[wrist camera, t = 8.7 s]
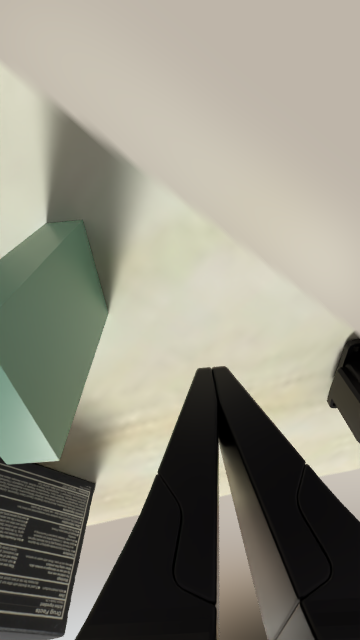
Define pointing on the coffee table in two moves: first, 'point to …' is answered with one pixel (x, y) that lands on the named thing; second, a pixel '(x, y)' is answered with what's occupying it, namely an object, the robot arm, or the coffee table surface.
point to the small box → (39, 548)
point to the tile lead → (46, 339)
